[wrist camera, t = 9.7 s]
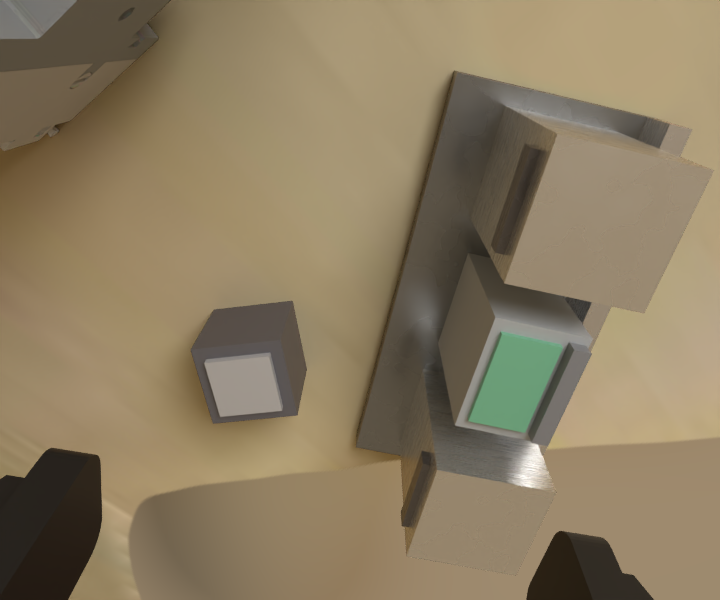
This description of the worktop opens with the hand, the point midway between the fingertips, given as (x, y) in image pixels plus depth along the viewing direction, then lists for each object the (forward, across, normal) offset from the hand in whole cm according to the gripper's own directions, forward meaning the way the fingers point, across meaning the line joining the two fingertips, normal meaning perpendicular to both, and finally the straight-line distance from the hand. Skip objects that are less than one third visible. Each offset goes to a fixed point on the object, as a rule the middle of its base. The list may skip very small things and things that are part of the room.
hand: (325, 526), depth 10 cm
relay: (+24, +4, +12) cm, 27 cm away
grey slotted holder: (+24, -9, +6) cm, 26 cm away
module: (+22, -9, +6) cm, 25 cm away
